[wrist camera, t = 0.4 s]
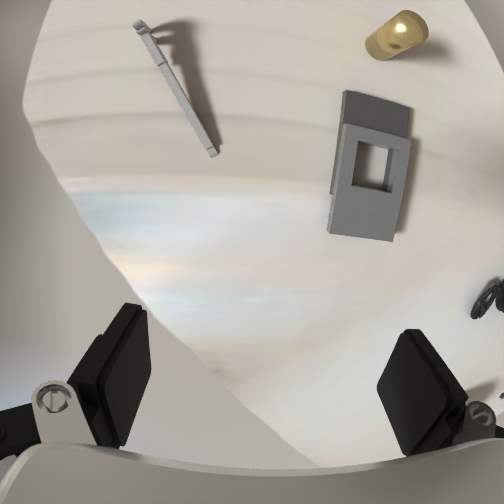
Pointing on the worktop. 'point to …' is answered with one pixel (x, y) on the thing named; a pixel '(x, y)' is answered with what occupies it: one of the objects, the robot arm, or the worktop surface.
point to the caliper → (174, 85)
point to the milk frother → (479, 309)
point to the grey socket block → (344, 192)
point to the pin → (397, 35)
